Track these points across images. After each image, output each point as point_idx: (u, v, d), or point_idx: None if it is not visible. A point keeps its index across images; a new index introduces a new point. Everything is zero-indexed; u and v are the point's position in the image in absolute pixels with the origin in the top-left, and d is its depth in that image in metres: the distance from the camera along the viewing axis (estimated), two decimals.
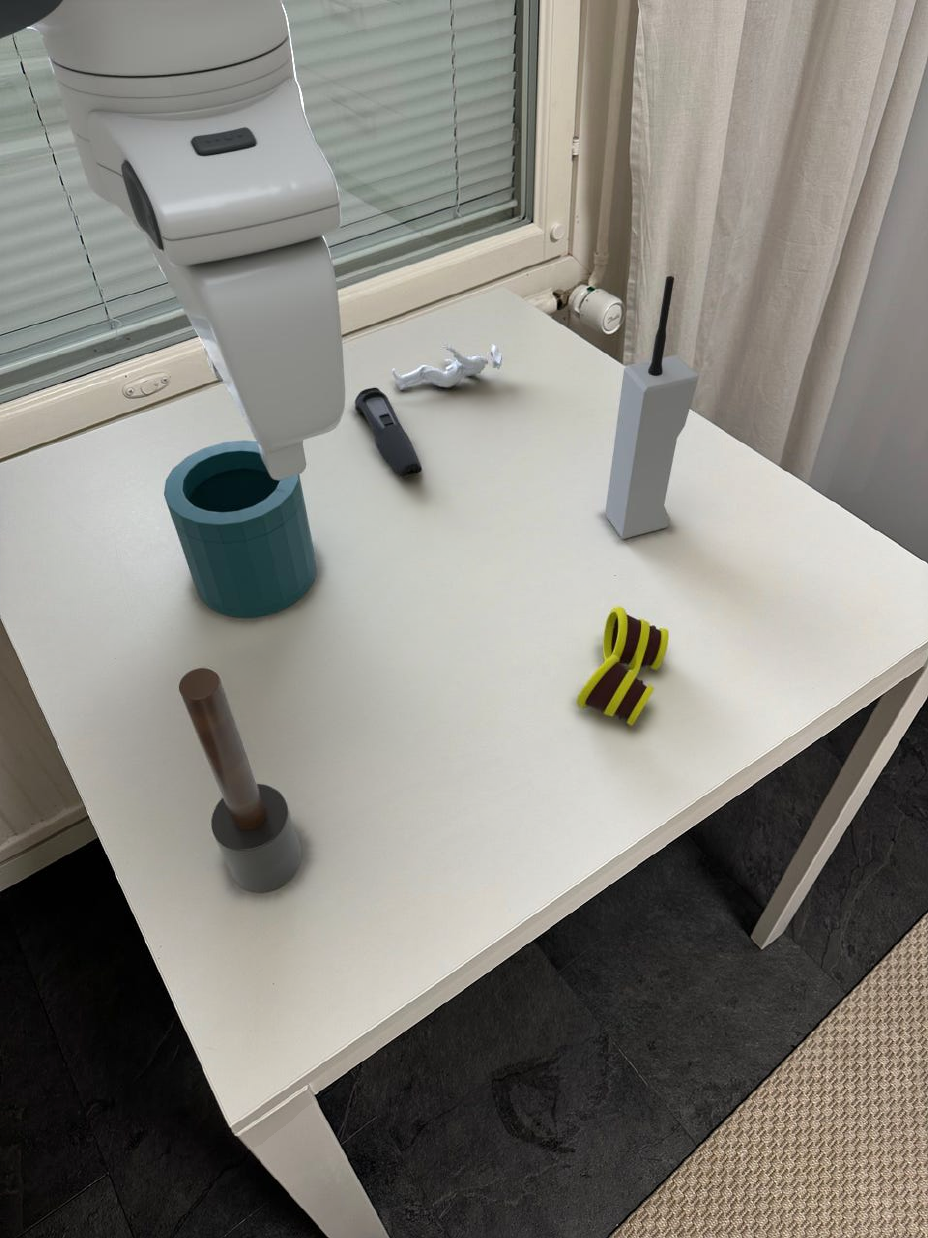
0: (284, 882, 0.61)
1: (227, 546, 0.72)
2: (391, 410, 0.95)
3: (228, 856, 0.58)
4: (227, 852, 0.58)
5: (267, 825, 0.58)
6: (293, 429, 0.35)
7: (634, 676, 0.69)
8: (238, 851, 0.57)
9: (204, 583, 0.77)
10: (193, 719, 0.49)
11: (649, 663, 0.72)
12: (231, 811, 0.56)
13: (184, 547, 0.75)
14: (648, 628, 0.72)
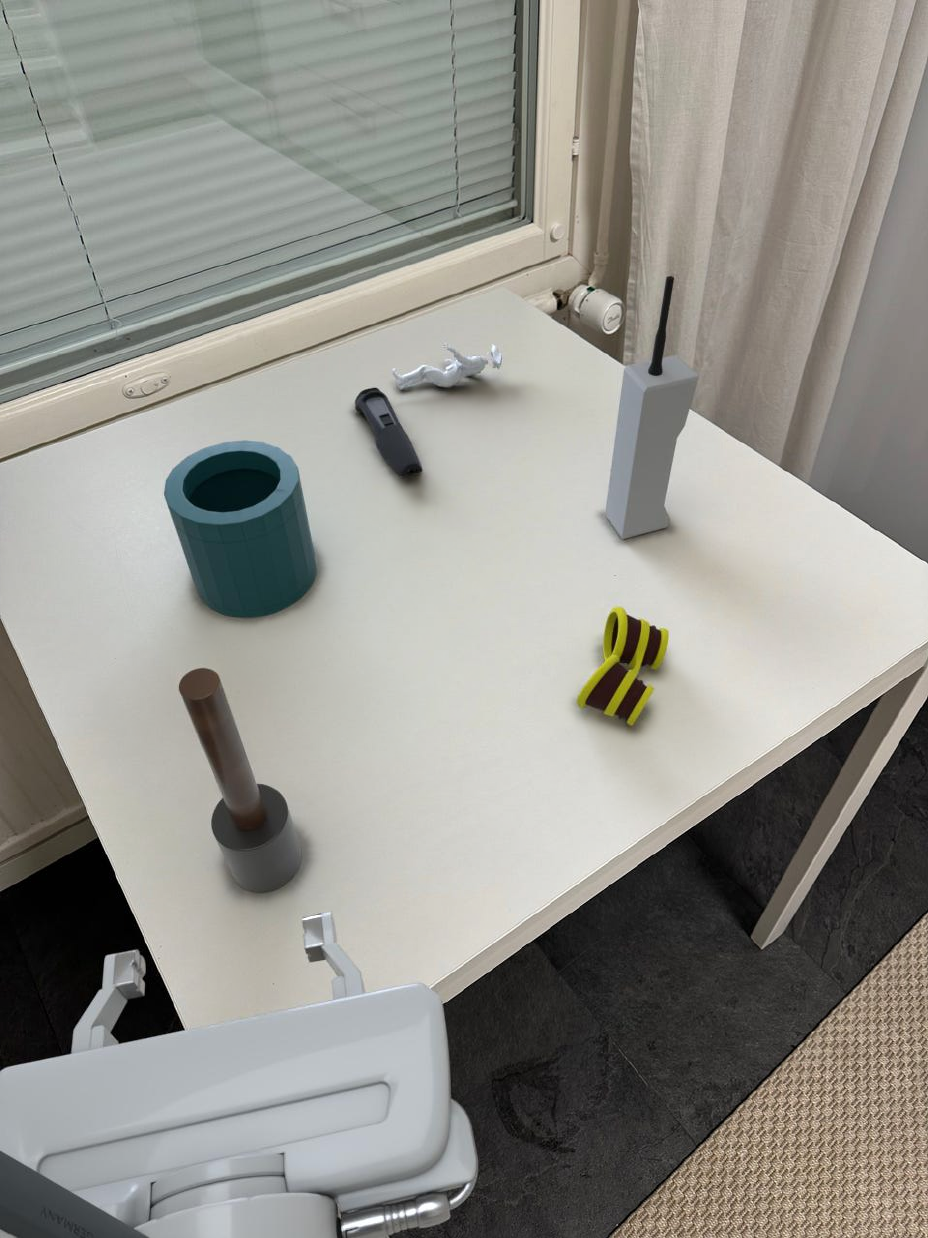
0: (284, 882, 0.61)
1: (227, 546, 0.72)
2: (391, 410, 0.95)
3: (228, 856, 0.58)
4: (227, 852, 0.58)
5: (267, 825, 0.58)
6: None
7: (634, 676, 0.69)
8: (238, 851, 0.57)
9: (204, 583, 0.77)
10: (193, 719, 0.49)
11: (649, 663, 0.72)
12: (231, 811, 0.56)
13: (184, 547, 0.75)
14: (648, 628, 0.72)
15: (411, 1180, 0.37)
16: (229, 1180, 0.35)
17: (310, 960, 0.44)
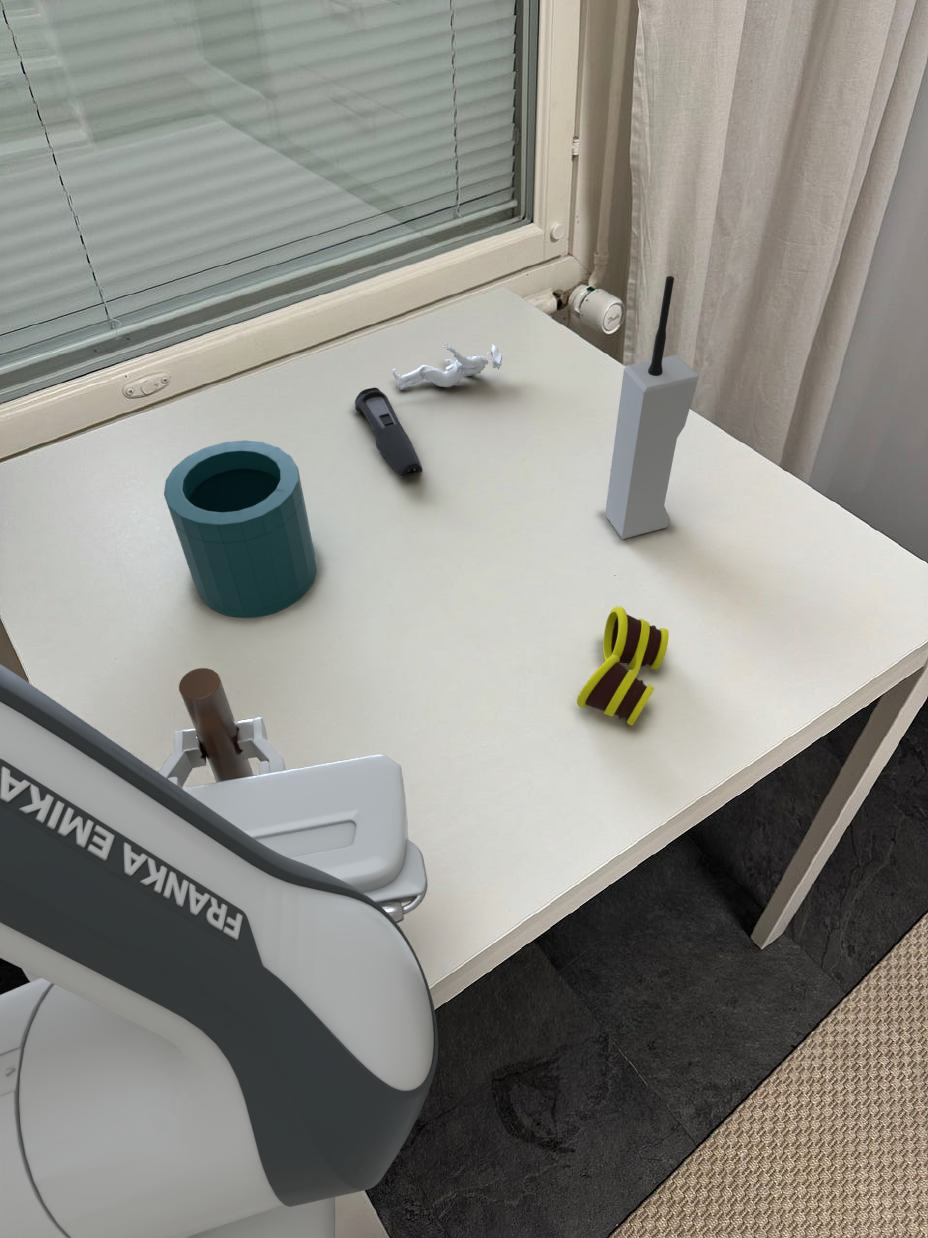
0: None
1: (227, 546, 0.72)
2: (391, 410, 0.95)
3: None
4: None
5: None
6: None
7: (634, 676, 0.69)
8: None
9: (204, 583, 0.77)
10: (193, 719, 0.49)
11: (649, 663, 0.72)
12: None
13: (184, 547, 0.75)
14: (648, 628, 0.72)
15: (372, 892, 0.45)
16: None
17: (243, 756, 0.52)
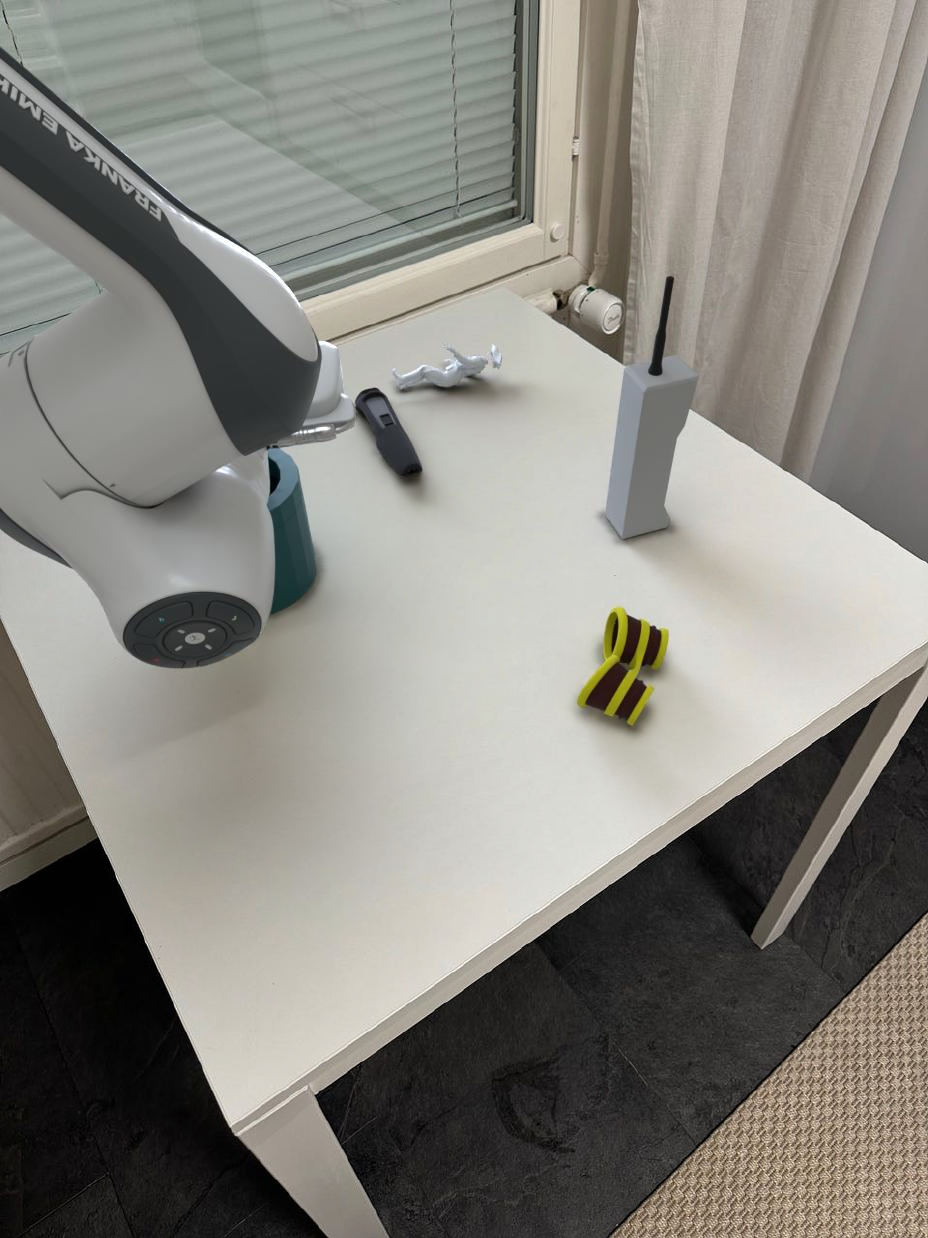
0: None
1: None
2: (391, 410, 0.95)
3: None
4: None
5: None
6: None
7: (634, 676, 0.69)
8: None
9: None
10: None
11: (649, 663, 0.72)
12: None
13: None
14: (648, 628, 0.72)
15: (312, 418, 0.58)
16: None
17: None
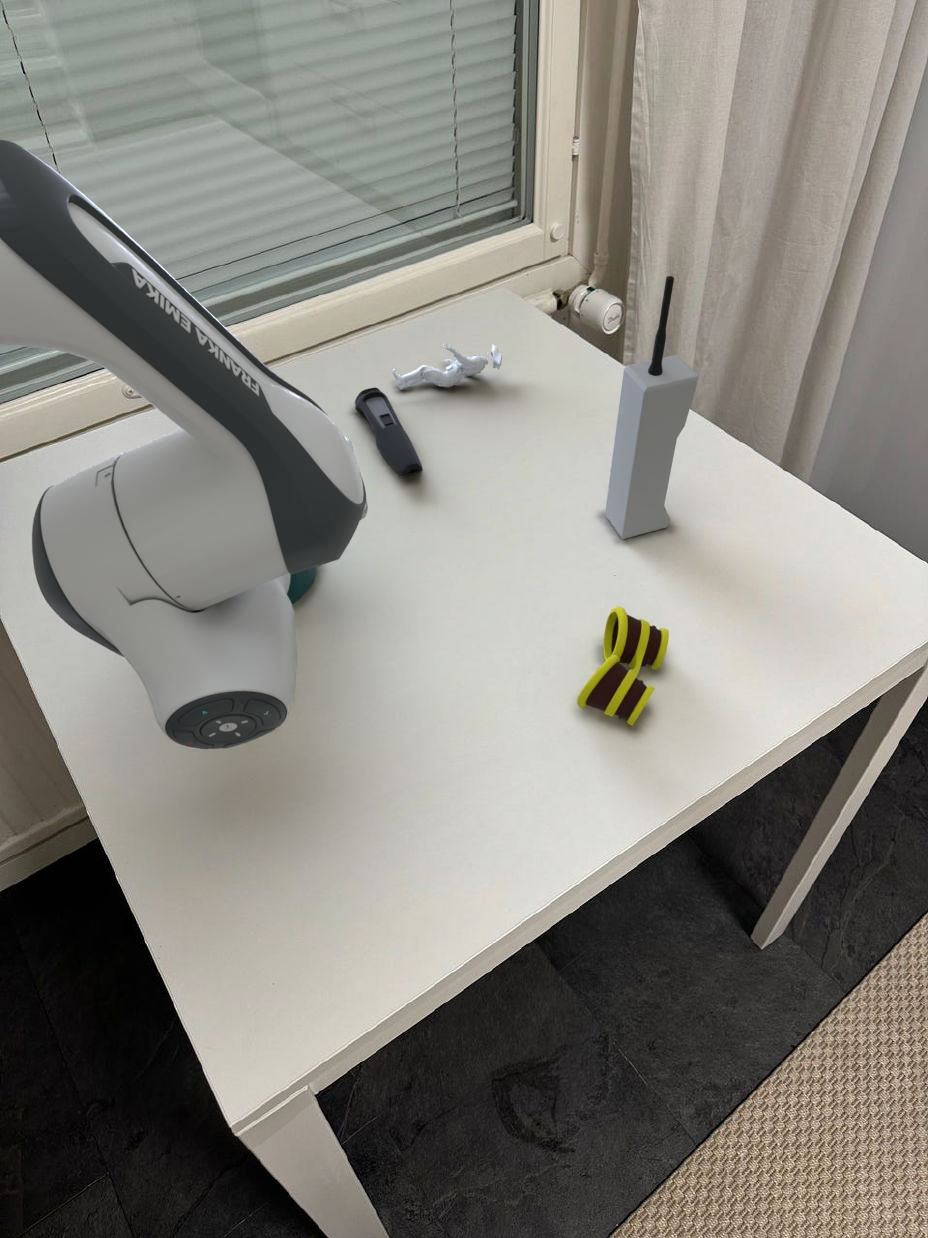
0: None
1: None
2: (391, 410, 0.95)
3: None
4: None
5: None
6: None
7: (634, 676, 0.69)
8: None
9: None
10: None
11: (649, 663, 0.72)
12: None
13: None
14: (648, 628, 0.72)
15: None
16: None
17: None
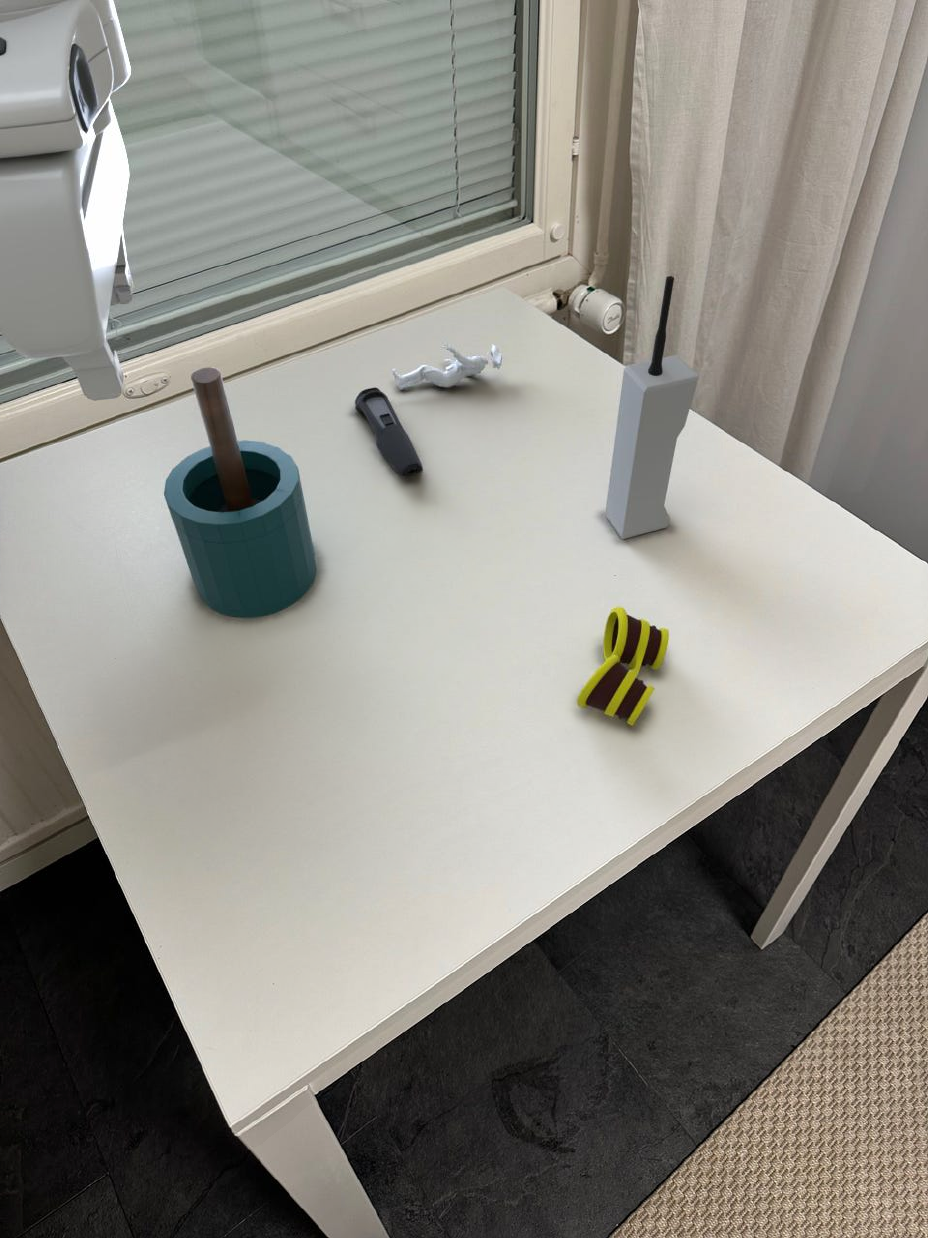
0: None
1: (227, 546, 0.72)
2: (391, 410, 0.95)
3: None
4: None
5: None
6: (41, 341, 0.36)
7: (634, 676, 0.69)
8: None
9: (204, 583, 0.77)
10: (201, 405, 0.68)
11: (649, 663, 0.72)
12: (229, 504, 0.75)
13: (184, 547, 0.75)
14: (648, 628, 0.72)
15: None
16: None
17: (120, 272, 0.48)
